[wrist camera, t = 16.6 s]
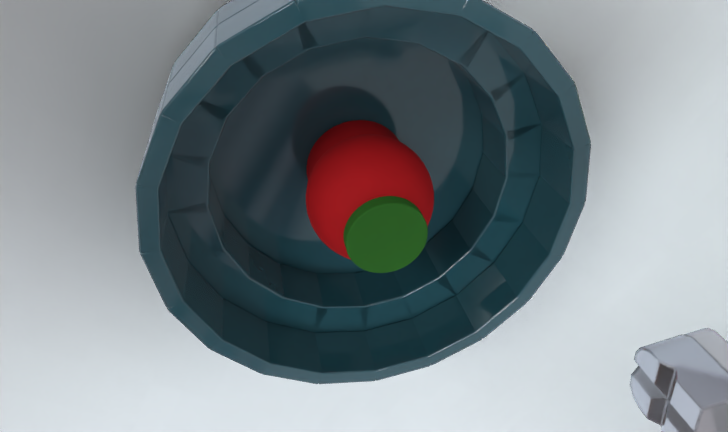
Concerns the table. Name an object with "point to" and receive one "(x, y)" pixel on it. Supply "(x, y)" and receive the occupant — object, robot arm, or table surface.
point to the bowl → (289, 180)
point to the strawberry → (369, 196)
